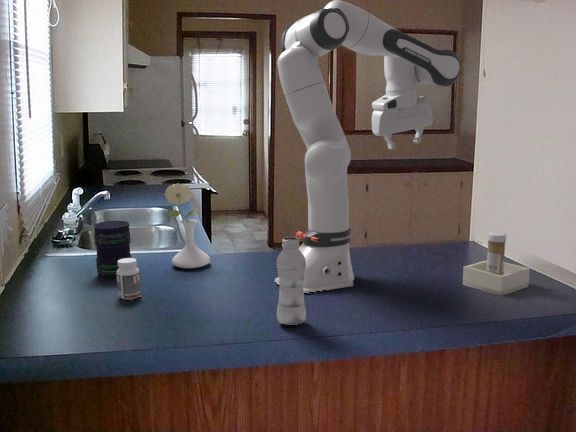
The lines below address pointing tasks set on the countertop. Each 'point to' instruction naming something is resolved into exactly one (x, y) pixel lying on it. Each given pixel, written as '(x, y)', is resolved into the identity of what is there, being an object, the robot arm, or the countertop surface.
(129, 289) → the pill bottle
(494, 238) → the sprinkles bottle
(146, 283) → the countertop surface
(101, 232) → the storage jar
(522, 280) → the box
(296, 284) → the plastic bottle
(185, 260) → the flower in vase
